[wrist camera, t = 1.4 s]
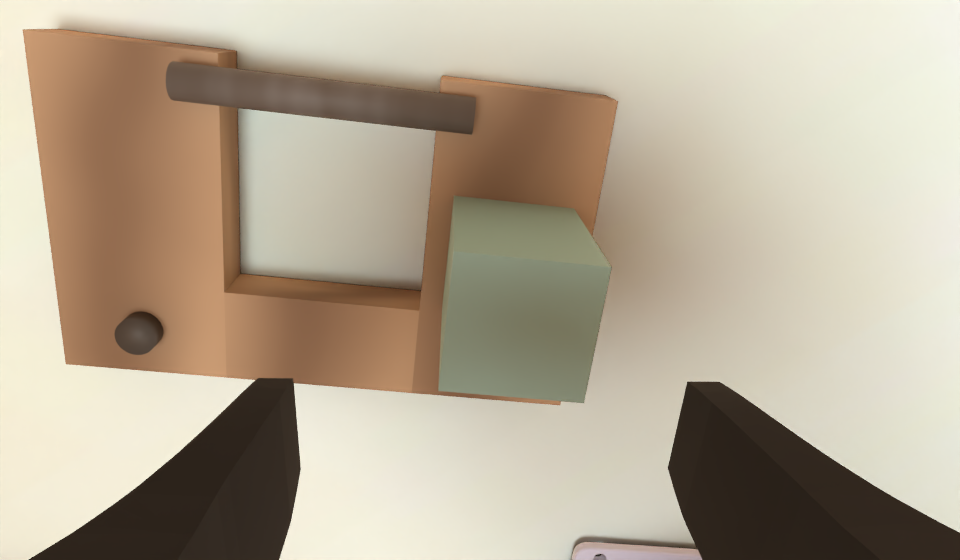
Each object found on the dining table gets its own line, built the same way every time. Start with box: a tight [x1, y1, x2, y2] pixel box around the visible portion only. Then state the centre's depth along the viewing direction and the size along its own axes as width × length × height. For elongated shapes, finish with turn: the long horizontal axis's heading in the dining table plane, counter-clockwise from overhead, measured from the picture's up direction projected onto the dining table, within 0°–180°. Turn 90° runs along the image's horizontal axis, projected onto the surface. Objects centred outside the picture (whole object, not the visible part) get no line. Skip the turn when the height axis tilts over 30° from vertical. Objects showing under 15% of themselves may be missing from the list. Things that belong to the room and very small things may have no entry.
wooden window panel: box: [23, 29, 618, 405], centre depth 20 cm, size 16×10×3 cm, turn 83°
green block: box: [438, 196, 612, 403], centre depth 18 cm, size 4×4×5 cm
